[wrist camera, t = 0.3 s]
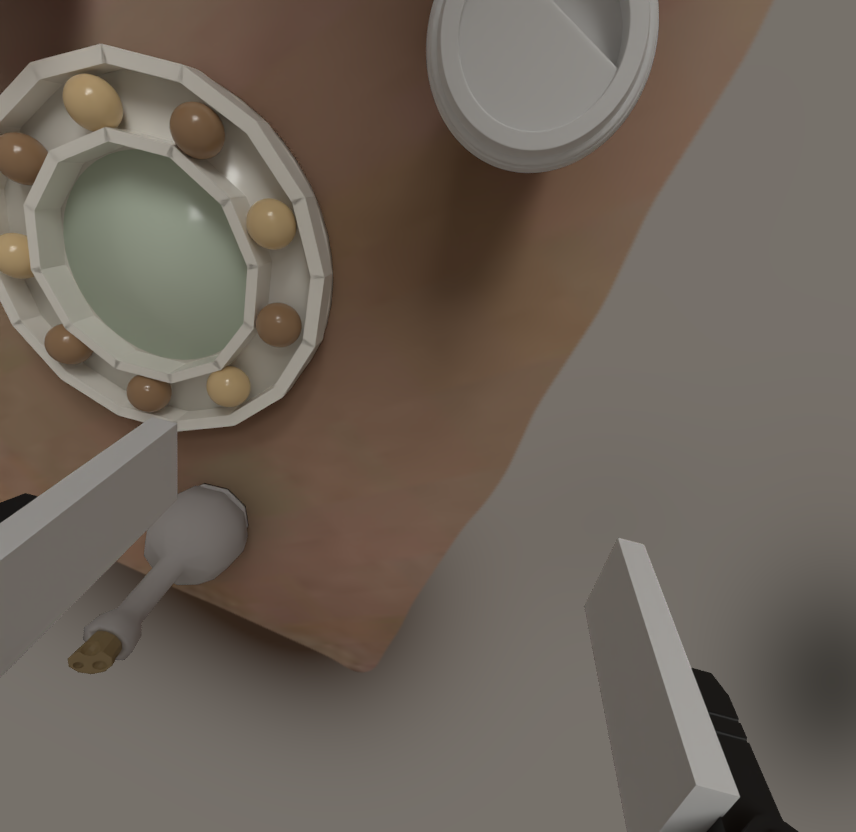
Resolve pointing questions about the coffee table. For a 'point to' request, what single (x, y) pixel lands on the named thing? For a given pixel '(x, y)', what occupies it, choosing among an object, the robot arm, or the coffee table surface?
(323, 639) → the coffee table surface
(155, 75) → the bead tray
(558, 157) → the coffee cup
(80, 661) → the potion bottle
